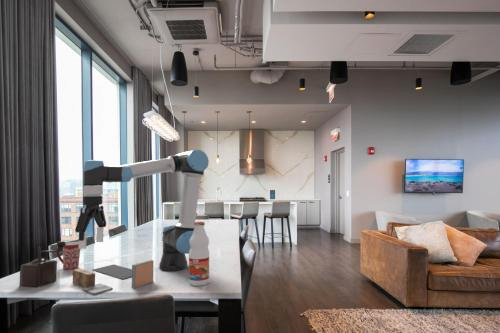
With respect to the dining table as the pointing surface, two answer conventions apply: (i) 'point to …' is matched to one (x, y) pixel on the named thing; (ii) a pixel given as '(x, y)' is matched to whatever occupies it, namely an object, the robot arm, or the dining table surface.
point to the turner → (88, 282)
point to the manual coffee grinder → (40, 269)
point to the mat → (115, 271)
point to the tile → (142, 273)
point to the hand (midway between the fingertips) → (91, 245)
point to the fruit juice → (199, 256)
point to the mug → (70, 255)
